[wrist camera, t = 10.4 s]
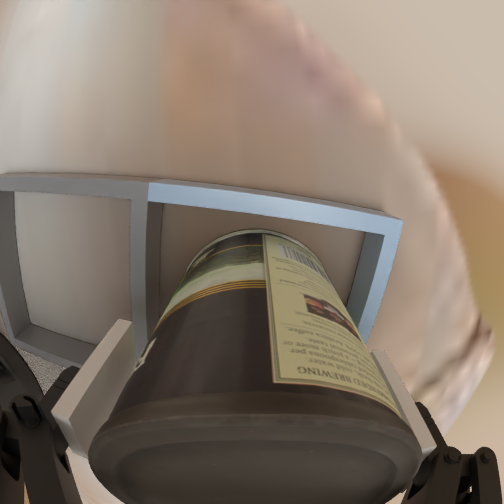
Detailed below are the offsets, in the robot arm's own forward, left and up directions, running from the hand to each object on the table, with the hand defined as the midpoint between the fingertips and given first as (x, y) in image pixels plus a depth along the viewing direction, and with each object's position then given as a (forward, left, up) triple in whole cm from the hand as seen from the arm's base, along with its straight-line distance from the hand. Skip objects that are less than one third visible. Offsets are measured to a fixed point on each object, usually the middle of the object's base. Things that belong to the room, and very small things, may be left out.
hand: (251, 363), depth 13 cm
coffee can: (0, 0, -7) cm, 7 cm away
